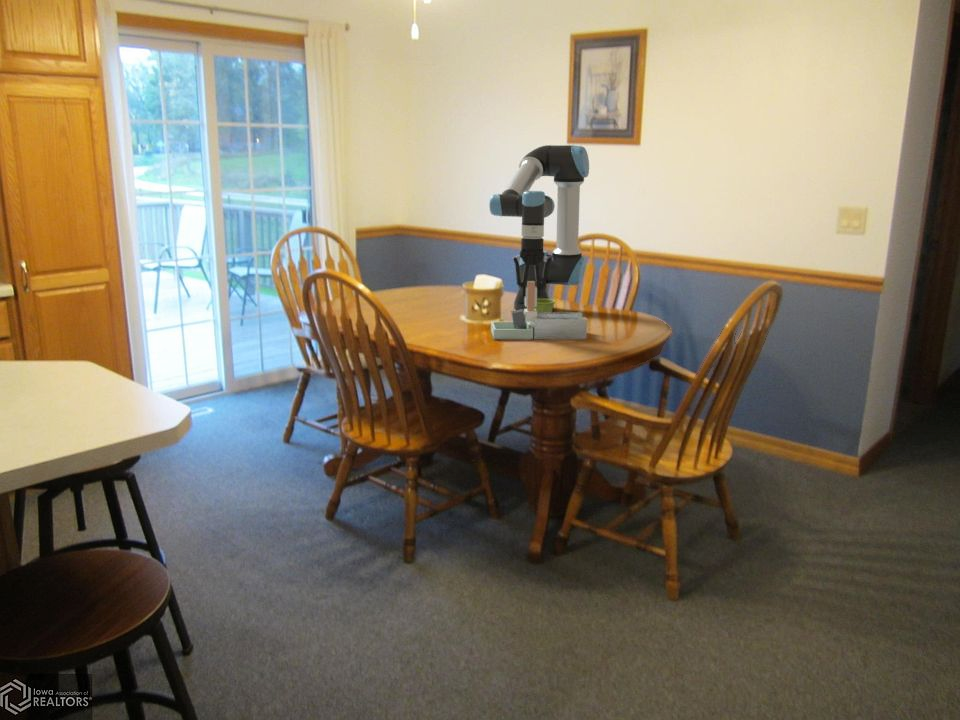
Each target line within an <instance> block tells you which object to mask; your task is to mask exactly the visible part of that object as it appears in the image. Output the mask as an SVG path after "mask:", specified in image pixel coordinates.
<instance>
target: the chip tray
mask: <svg viewBox="0 0 960 720" xmlns="http://www.w3.org/2000/svg"><path fill="white" fill-rule="evenodd" d="M526 328H527V329H514V325H513V321H490V332H491V336H492V338H493V340H495V341H496V340H497V341H500V340H503V341H504V340H510V341H511V340H517V341H518V340H519V341H521V340H522V341H523V340H527V341H528V340H529V341H530V340H534V338H533V328H532V326H531V325H530V322H526Z"/></svg>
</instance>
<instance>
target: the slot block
mask: <svg viewBox="0 0 960 720" xmlns="http://www.w3.org/2000/svg"><path fill="white" fill-rule="evenodd" d="M529 323H530V325H531V326H532V328H533V340H587V332H588V318H587V317H583V313H582V312H579V311H578V312H567V311H566V312H563V311H562V312H560V311H559V312H555V311H554V312H553V311H552V312H537V317H534V322H529Z"/></svg>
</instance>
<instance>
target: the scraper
mask: <svg viewBox="0 0 960 720" xmlns="http://www.w3.org/2000/svg"><path fill="white" fill-rule="evenodd" d="M527 287H528V307H527V309H524V317H525V322H529V323H530V322H534V317H537V311H536V309H534V304H535V281H527Z"/></svg>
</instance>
